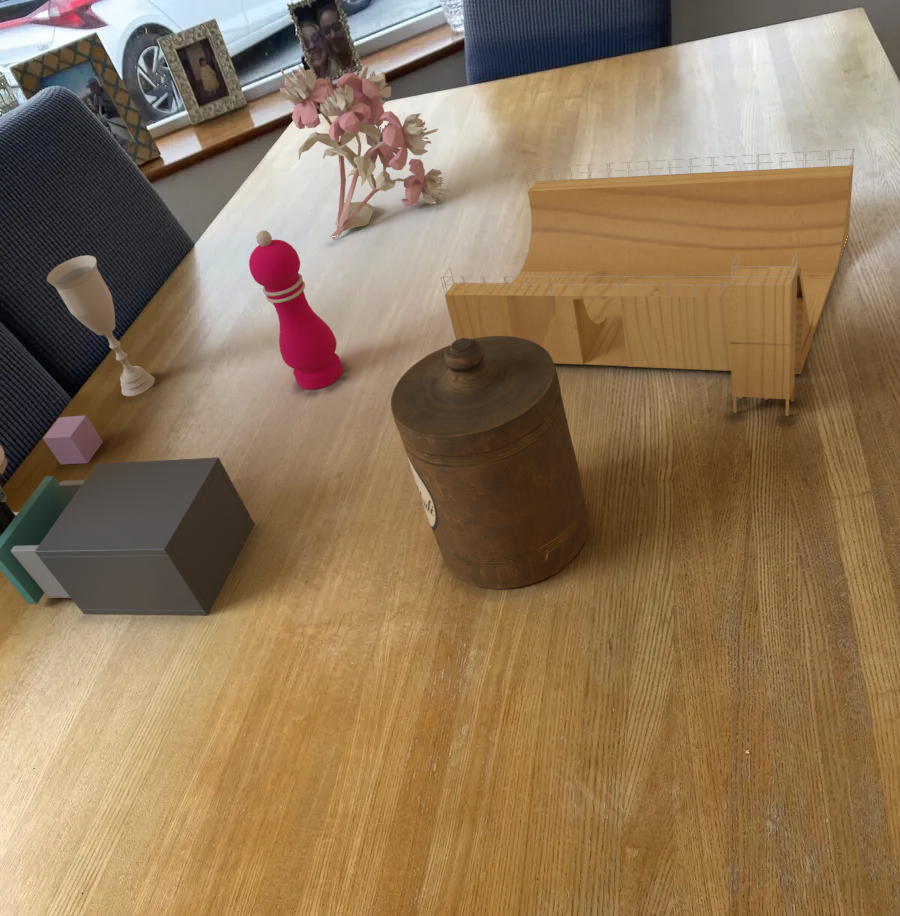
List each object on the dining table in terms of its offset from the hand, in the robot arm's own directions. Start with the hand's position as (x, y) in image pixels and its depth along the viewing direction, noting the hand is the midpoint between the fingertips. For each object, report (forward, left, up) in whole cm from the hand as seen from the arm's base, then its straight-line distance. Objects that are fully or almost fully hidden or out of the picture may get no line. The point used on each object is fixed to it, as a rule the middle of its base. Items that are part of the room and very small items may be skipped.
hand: (10, 534), depth 105 cm
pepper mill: (+32, +27, -6) cm, 43 cm away
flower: (+43, +71, -6) cm, 83 cm away
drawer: (+7, -2, -5) cm, 9 cm away
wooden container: (+55, -11, -6) cm, 57 cm away
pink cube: (0, +22, -6) cm, 23 cm away
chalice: (+4, +36, -6) cm, 37 cm away
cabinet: (+17, -5, -6) cm, 19 cm away
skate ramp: (+75, +23, -6) cm, 78 cm away
